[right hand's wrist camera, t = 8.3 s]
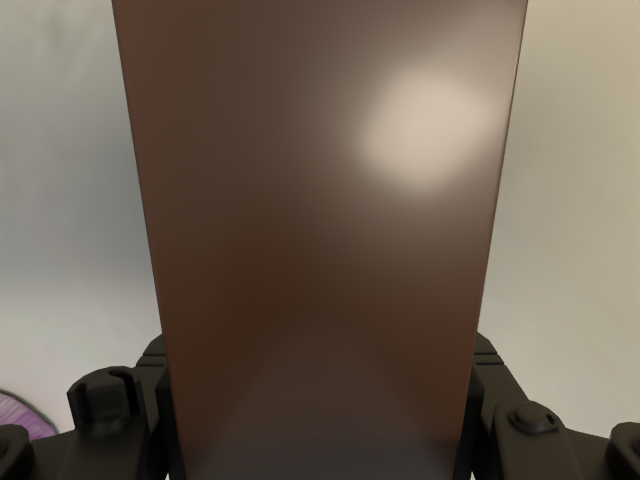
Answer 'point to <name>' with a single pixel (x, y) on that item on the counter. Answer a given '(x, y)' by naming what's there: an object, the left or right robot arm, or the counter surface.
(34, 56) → the counter surface
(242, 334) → the plank
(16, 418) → the figurine
